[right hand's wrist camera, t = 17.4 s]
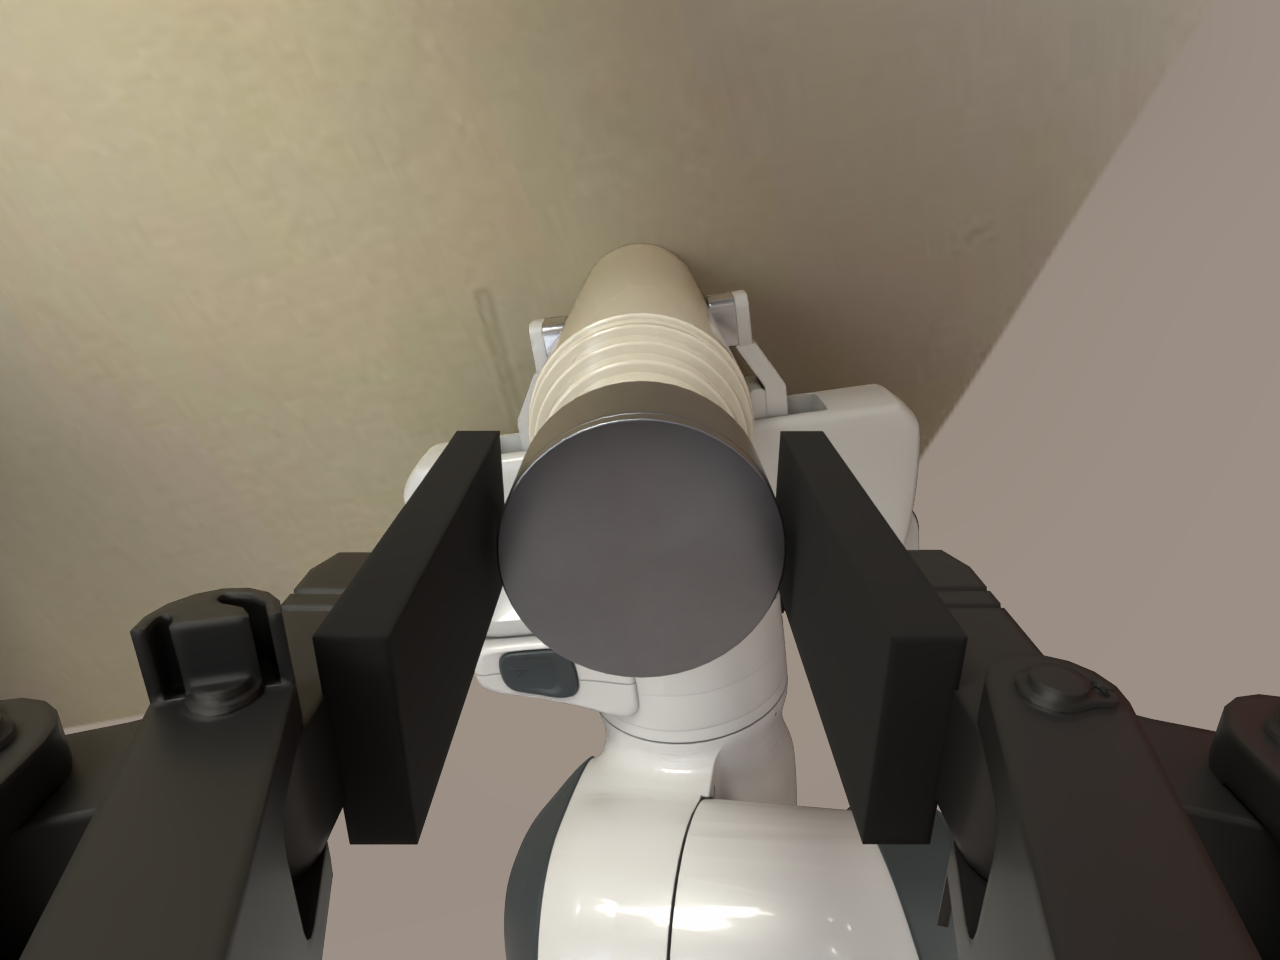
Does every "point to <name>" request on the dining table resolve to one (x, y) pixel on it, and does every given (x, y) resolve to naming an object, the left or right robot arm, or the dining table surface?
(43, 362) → the dining table surface
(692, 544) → the cap
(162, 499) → the dining table surface
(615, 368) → the bottle
